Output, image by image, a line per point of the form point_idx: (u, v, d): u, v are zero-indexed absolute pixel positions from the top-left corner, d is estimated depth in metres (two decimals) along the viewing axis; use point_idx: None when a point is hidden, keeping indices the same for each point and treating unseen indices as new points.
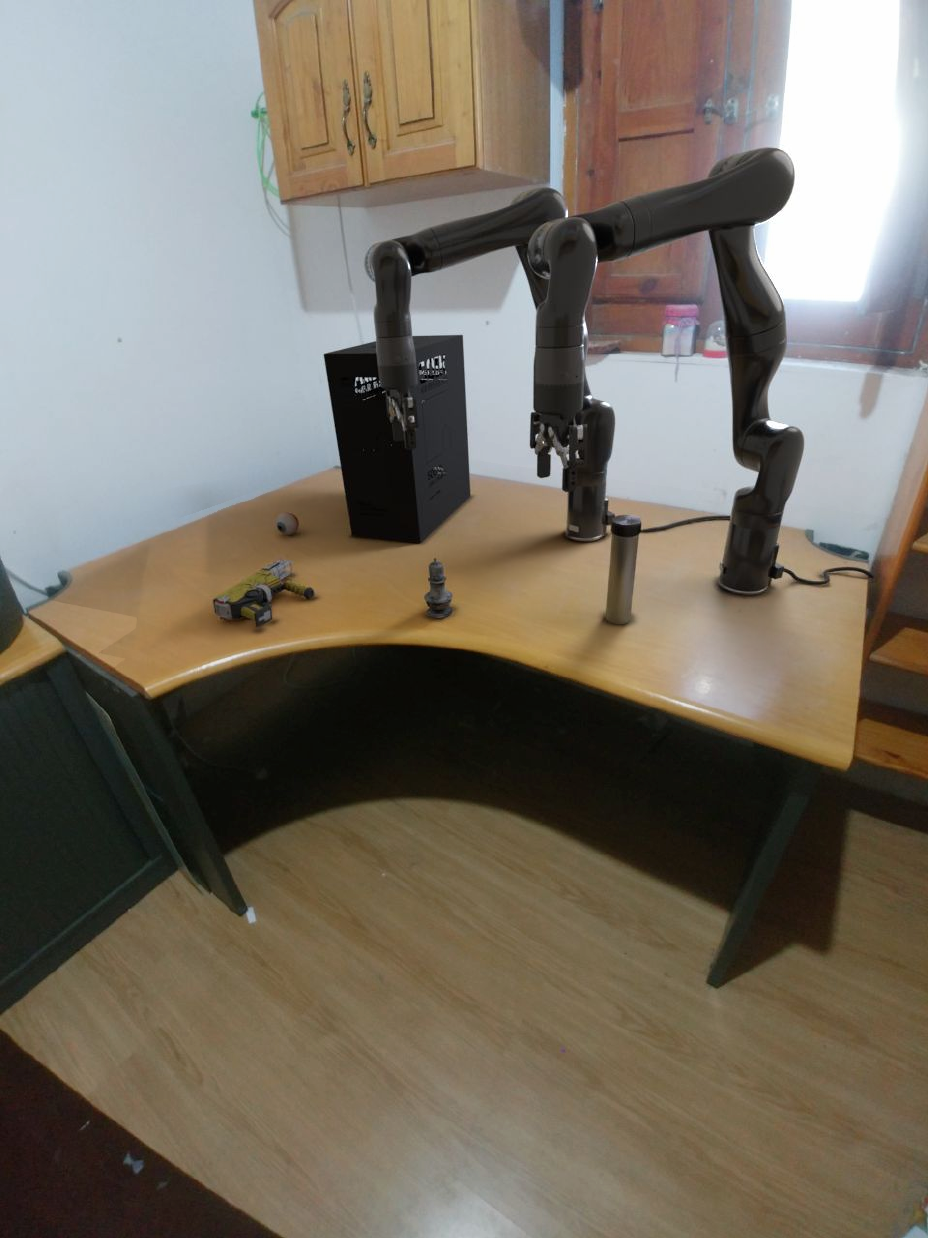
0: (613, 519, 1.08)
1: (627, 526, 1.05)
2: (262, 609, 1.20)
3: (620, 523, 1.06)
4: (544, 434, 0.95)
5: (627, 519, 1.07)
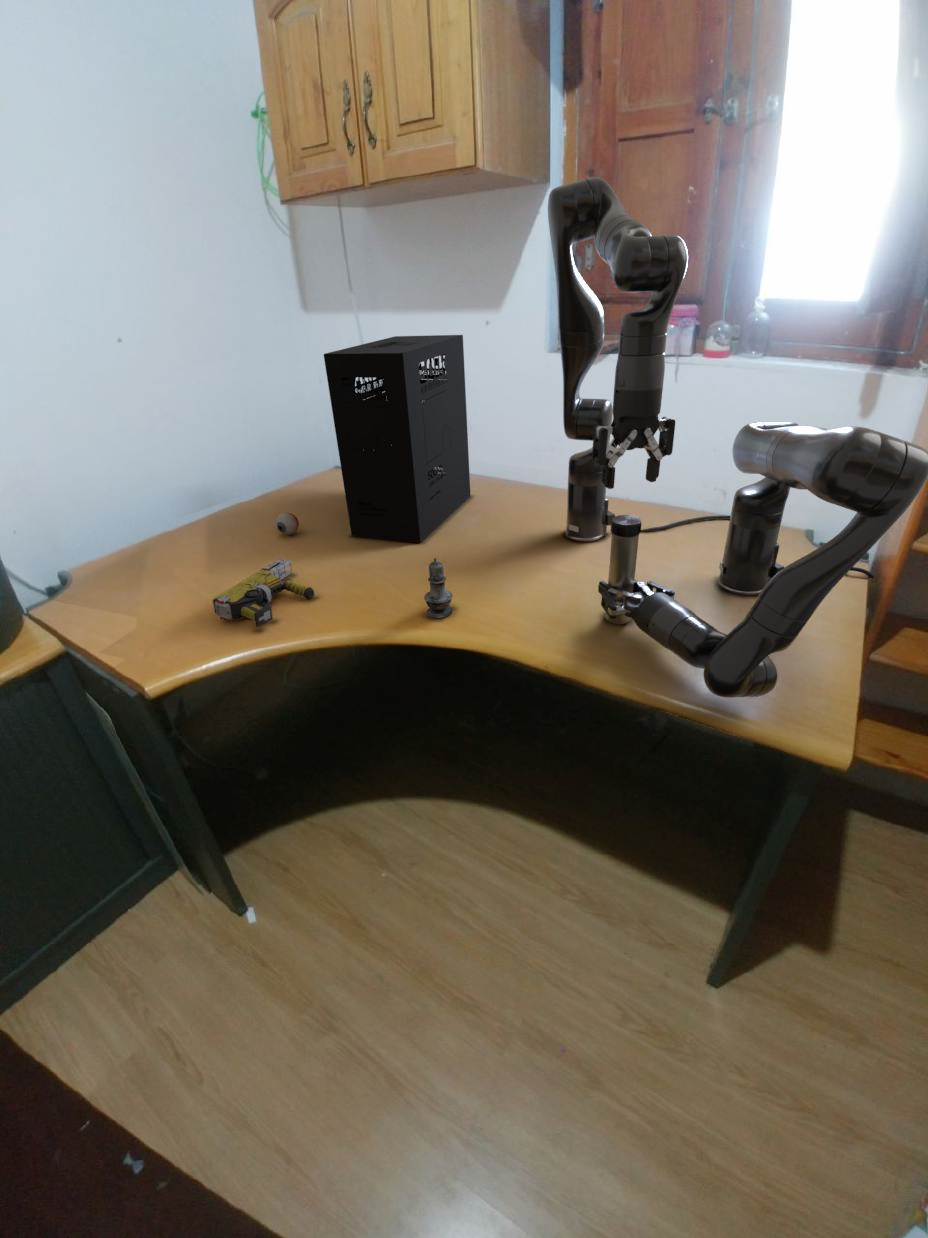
0: (613, 519, 1.08)
1: (627, 526, 1.05)
2: (262, 609, 1.20)
3: (620, 523, 1.06)
4: None
5: (627, 519, 1.07)
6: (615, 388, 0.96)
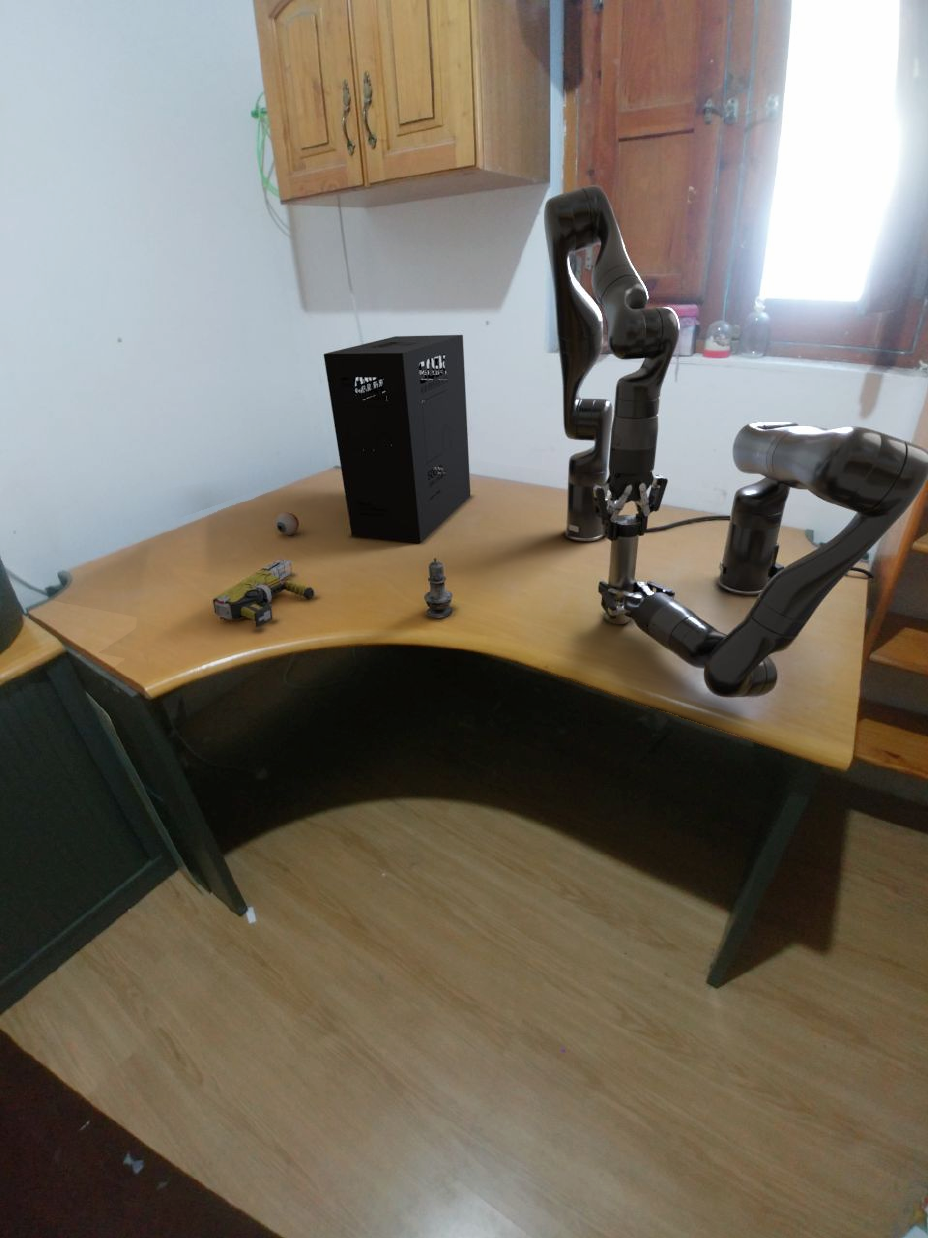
0: None
1: (627, 526, 1.05)
2: (262, 609, 1.20)
3: (620, 523, 1.06)
4: None
5: (627, 519, 1.07)
6: (611, 446, 1.01)
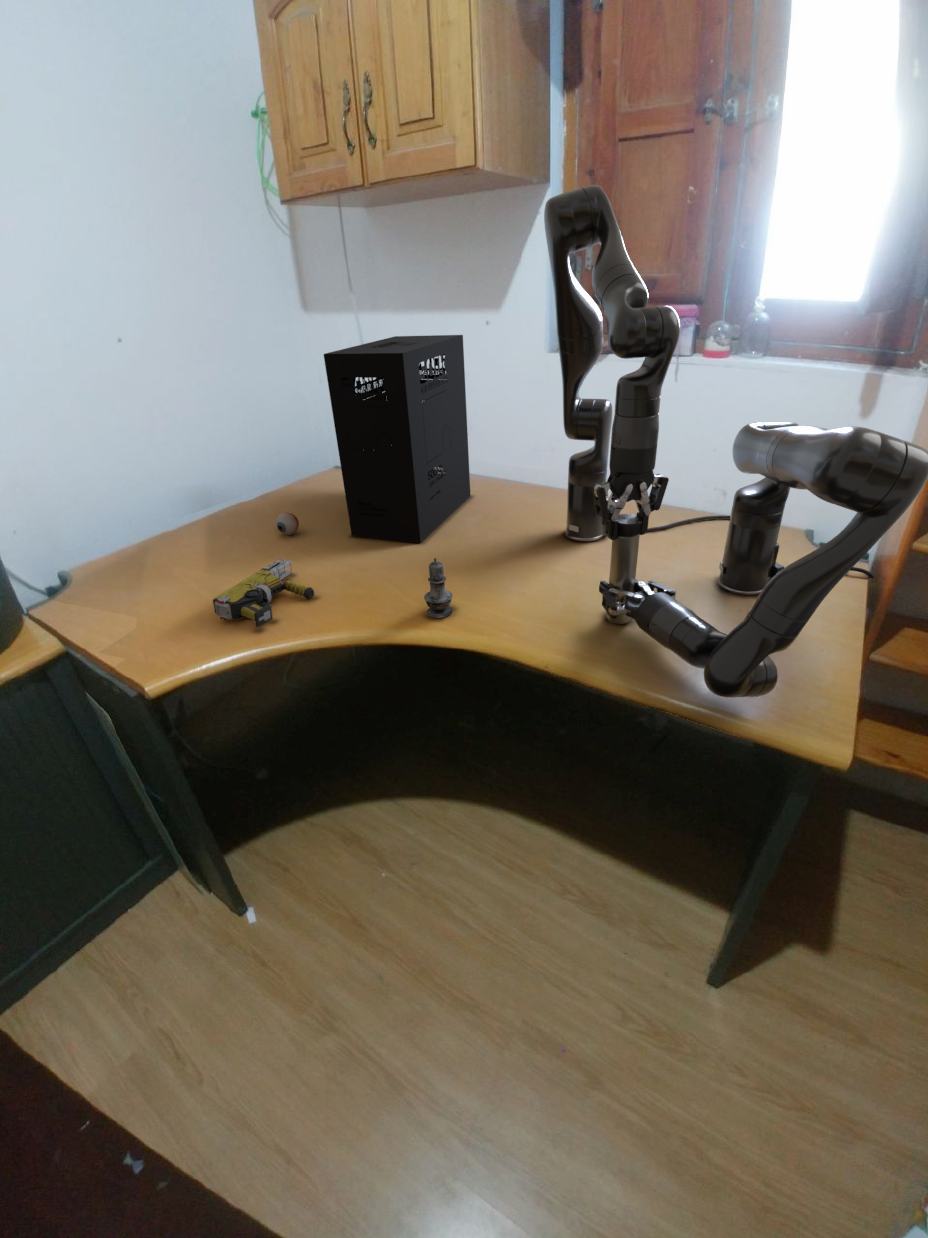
0: (626, 523, 1.05)
1: None
2: (262, 609, 1.20)
3: (637, 521, 1.06)
4: None
5: (626, 518, 1.07)
6: (612, 445, 1.00)
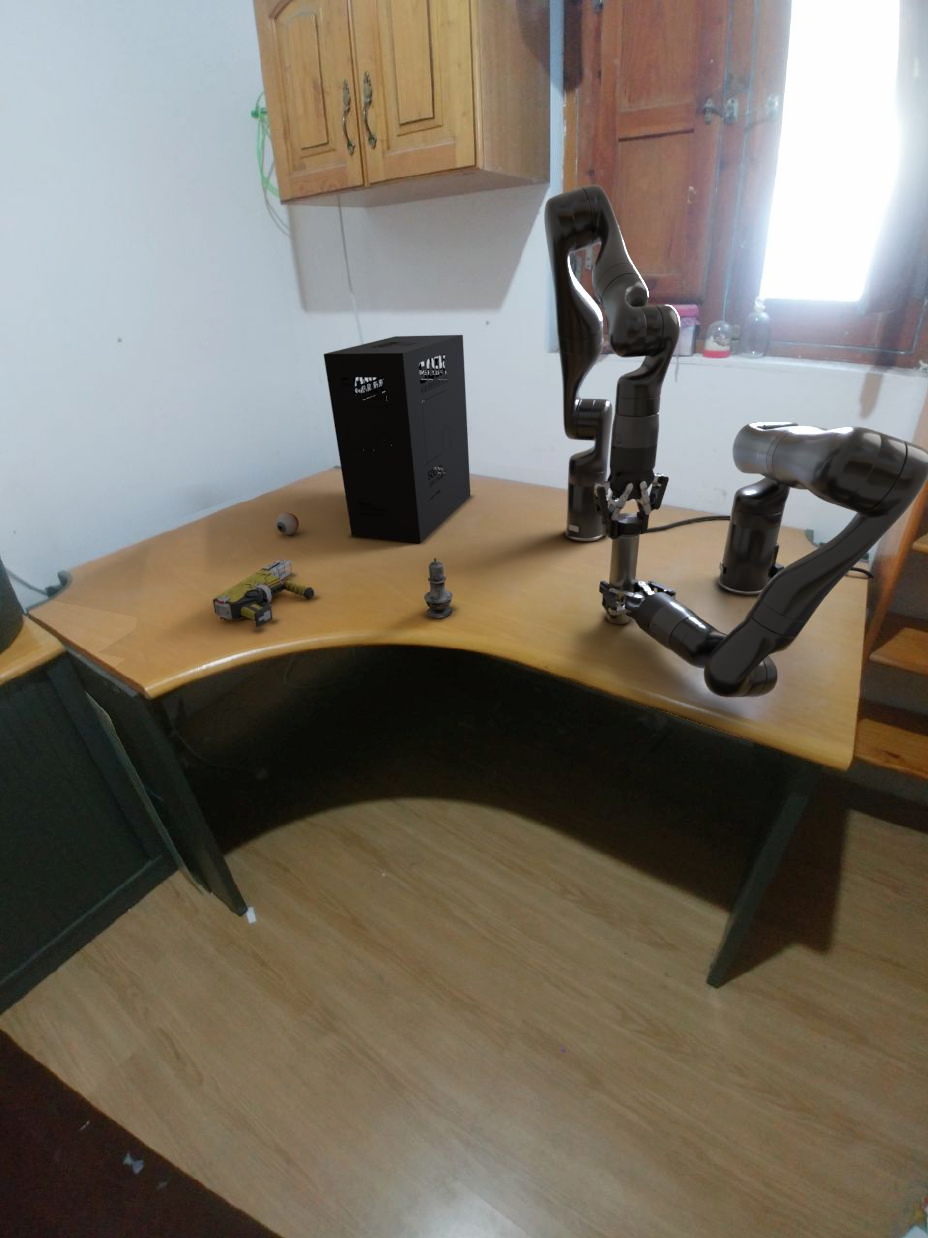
0: (640, 519, 1.06)
1: None
2: (262, 609, 1.20)
3: (635, 515, 1.08)
4: None
5: (626, 518, 1.07)
6: (612, 444, 1.00)
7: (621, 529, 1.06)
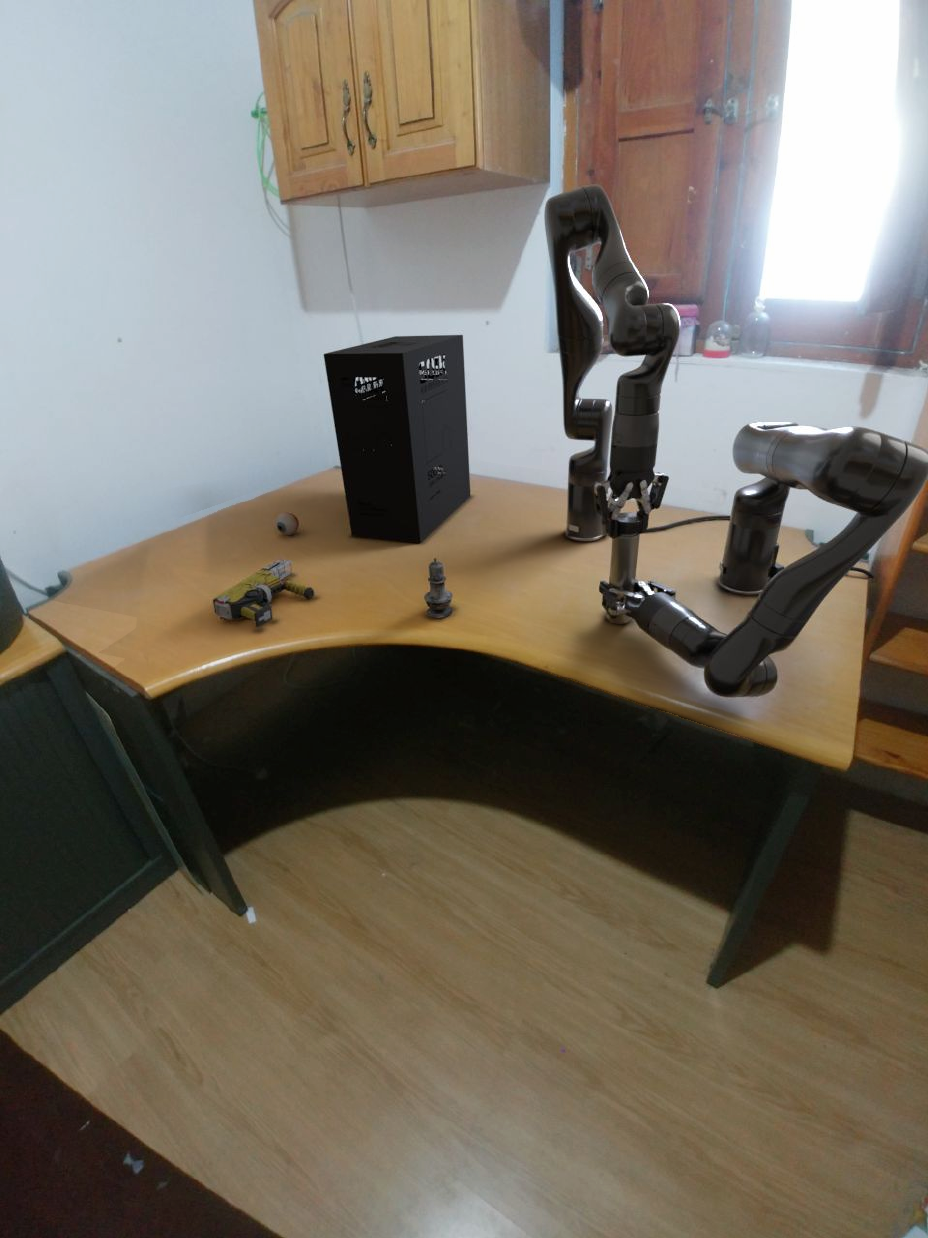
0: (631, 513, 1.09)
1: None
2: (262, 609, 1.20)
3: (619, 513, 1.09)
4: None
5: (628, 517, 1.07)
6: (612, 443, 1.00)
7: (639, 527, 1.06)
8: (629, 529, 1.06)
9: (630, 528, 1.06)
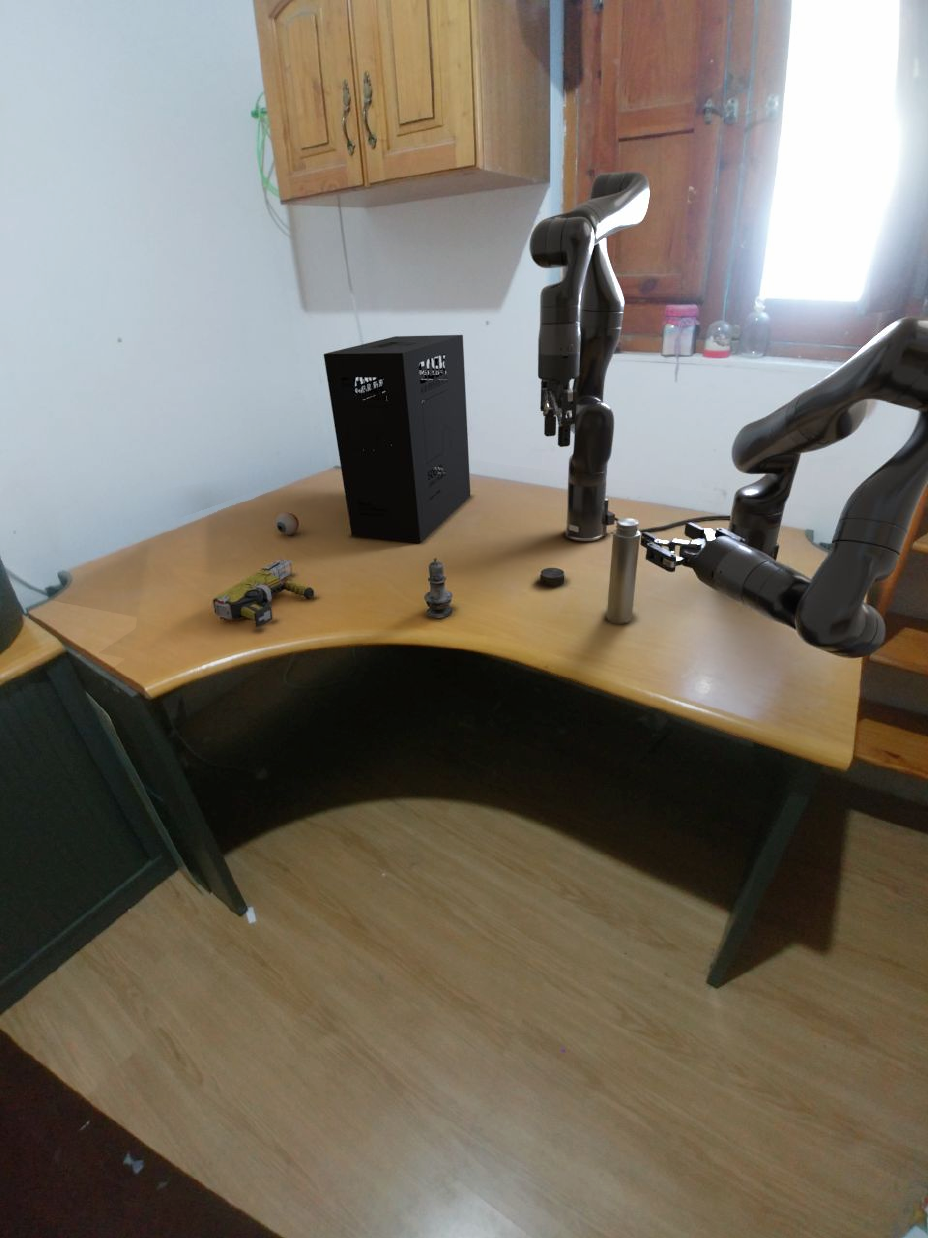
0: (545, 576, 1.30)
1: (561, 576, 1.30)
2: (262, 609, 1.20)
3: (555, 576, 1.29)
4: None
5: (552, 572, 1.31)
6: (561, 355, 1.06)
7: None
8: None
9: None
